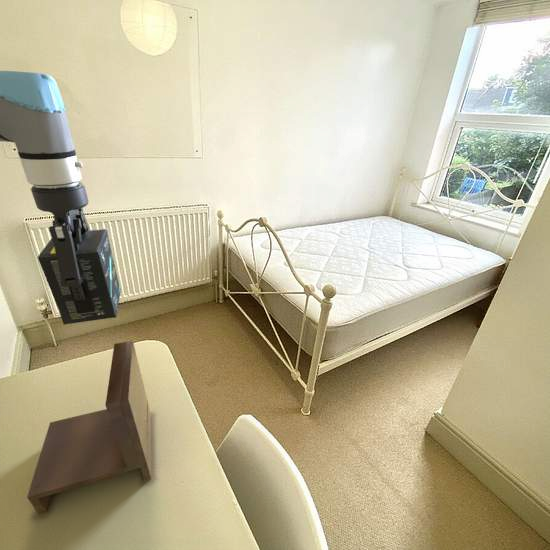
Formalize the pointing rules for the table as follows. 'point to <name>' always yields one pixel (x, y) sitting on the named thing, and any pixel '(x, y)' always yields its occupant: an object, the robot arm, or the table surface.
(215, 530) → the table surface
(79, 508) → the table surface
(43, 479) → the wooden display stand
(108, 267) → the tampon box
